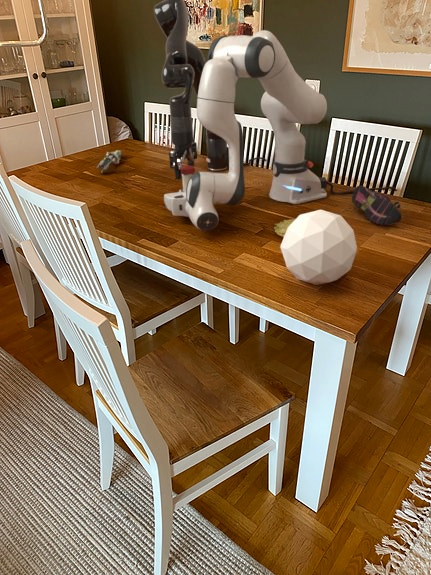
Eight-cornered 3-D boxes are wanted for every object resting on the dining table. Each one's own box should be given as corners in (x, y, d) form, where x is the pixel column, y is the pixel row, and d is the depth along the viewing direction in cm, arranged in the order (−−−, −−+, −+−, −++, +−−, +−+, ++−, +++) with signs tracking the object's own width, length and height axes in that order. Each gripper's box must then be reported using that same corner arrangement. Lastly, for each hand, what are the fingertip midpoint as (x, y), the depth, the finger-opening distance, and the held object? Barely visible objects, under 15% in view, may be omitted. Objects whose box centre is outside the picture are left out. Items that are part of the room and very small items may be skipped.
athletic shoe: (393, 214, 141) (421, 210, 145) (357, 172, 153) (384, 169, 157) (376, 239, 150) (403, 235, 154) (344, 197, 161) (370, 194, 166)
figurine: (101, 154, 197) (119, 141, 223) (91, 167, 200) (110, 152, 227) (114, 165, 199) (130, 151, 225) (103, 178, 203) (121, 162, 229)
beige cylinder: (190, 205, 169) (188, 166, 161) (198, 208, 167) (196, 169, 159) (182, 208, 167) (179, 169, 159) (189, 211, 164) (186, 171, 156)
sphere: (293, 297, 126) (258, 236, 124) (350, 261, 128) (317, 201, 126) (319, 302, 107) (278, 231, 105) (385, 260, 109) (347, 189, 107)
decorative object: (286, 211, 157) (342, 219, 147) (286, 217, 158) (341, 226, 148) (260, 233, 142) (319, 243, 133) (260, 240, 144) (319, 251, 134)
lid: (177, 172, 160) (177, 167, 159) (188, 169, 162) (188, 164, 161) (186, 175, 156) (186, 170, 155) (197, 172, 159) (197, 167, 158)
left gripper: (184, 123, 158) (187, 168, 167) (160, 132, 148) (165, 180, 157) (202, 125, 155) (204, 171, 164) (178, 135, 145) (182, 183, 154)
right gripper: (225, 191, 153) (215, 179, 164) (167, 199, 149) (160, 185, 160) (225, 209, 156) (215, 195, 168) (168, 216, 152) (162, 202, 164)
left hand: (185, 175), depth 160 cm, fingers open, 7 cm apart
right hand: (188, 190), depth 164 cm, fingers closed on beige cylinder, 4 cm apart
